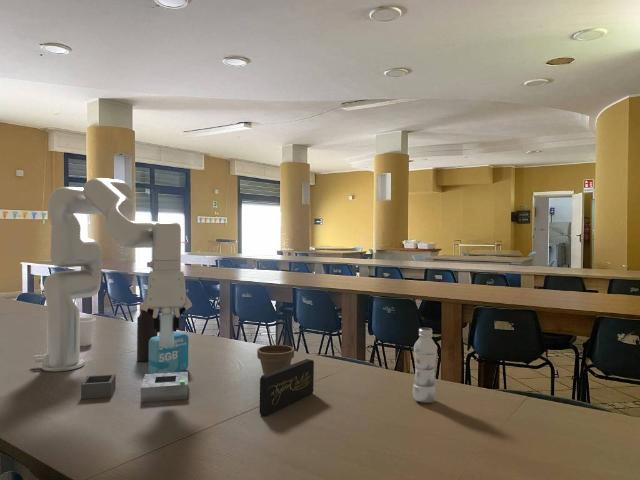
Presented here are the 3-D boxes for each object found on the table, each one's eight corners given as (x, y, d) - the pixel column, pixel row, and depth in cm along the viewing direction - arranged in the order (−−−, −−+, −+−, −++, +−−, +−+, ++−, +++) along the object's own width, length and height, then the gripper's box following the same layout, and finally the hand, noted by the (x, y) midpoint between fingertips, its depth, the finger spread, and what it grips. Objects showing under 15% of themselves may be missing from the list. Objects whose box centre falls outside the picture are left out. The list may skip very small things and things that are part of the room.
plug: (158, 347, 130) (158, 304, 130) (159, 344, 134) (159, 302, 134) (173, 347, 131) (173, 304, 131) (174, 343, 135) (174, 301, 135)
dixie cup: (99, 343, 188) (100, 318, 188) (79, 348, 181) (79, 322, 181) (87, 340, 193) (87, 316, 193) (67, 344, 186) (67, 319, 186)
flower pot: (248, 380, 145) (249, 348, 145) (276, 373, 154) (276, 342, 153) (273, 390, 138) (274, 355, 137) (301, 381, 146) (302, 348, 146)
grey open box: (80, 399, 128) (80, 384, 128) (86, 389, 135) (86, 375, 135) (111, 396, 130) (111, 382, 130) (115, 387, 137) (115, 374, 137)
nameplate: (265, 417, 118) (265, 377, 117) (259, 415, 119) (260, 376, 119) (313, 394, 135) (313, 359, 135) (308, 392, 136) (308, 358, 136)
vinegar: (160, 357, 170) (161, 302, 169) (152, 362, 163) (152, 305, 163) (142, 356, 171) (142, 301, 170) (133, 361, 164) (133, 304, 163)
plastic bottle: (437, 398, 132) (438, 327, 132) (434, 407, 126) (436, 332, 126) (414, 395, 135) (415, 325, 134) (410, 403, 128) (412, 330, 128)
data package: (156, 378, 146) (156, 339, 146) (148, 375, 149) (148, 337, 149) (188, 369, 156) (188, 333, 156) (180, 367, 159) (180, 331, 158)
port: (140, 402, 126) (140, 385, 126) (144, 387, 138) (145, 372, 137) (187, 399, 129) (187, 382, 129) (187, 384, 141) (187, 369, 141)
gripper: (133, 267, 127) (133, 335, 127) (197, 266, 131) (197, 332, 131) (136, 265, 134) (136, 329, 134) (197, 264, 138) (197, 327, 139)
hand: (166, 330), depth 133 cm, fingers closed on plug, 4 cm apart
